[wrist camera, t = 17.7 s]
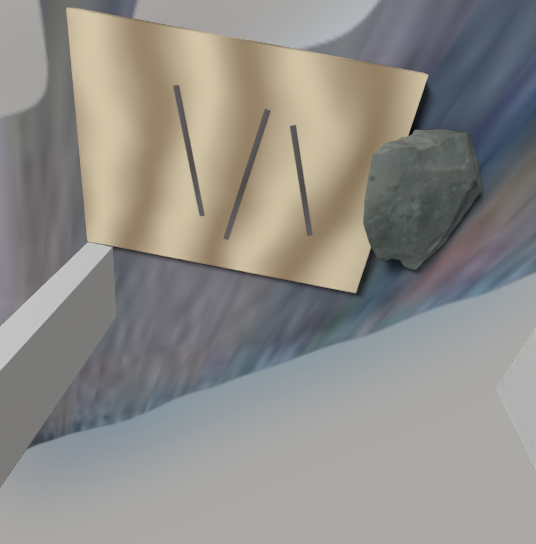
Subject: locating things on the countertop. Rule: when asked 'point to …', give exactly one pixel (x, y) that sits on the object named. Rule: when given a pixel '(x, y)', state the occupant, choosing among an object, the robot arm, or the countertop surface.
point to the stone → (419, 193)
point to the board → (231, 146)
